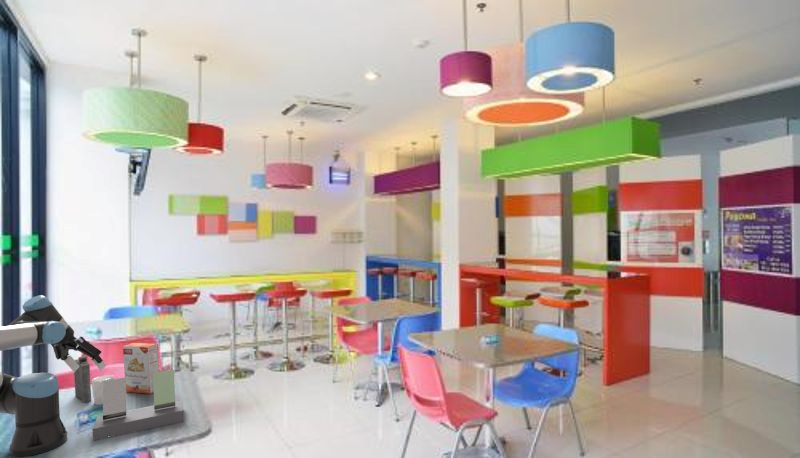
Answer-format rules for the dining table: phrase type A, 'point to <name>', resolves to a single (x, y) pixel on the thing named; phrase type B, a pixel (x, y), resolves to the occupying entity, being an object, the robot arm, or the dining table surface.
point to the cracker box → (140, 366)
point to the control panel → (138, 420)
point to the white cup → (99, 388)
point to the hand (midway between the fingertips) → (90, 368)
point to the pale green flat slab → (164, 389)
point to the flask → (83, 380)
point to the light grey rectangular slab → (114, 398)
